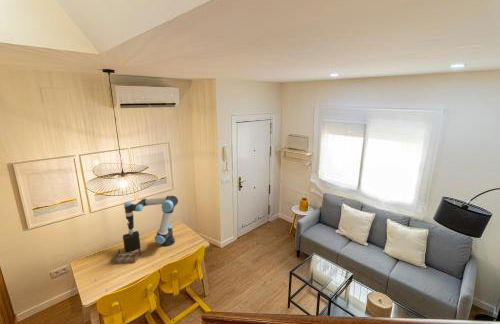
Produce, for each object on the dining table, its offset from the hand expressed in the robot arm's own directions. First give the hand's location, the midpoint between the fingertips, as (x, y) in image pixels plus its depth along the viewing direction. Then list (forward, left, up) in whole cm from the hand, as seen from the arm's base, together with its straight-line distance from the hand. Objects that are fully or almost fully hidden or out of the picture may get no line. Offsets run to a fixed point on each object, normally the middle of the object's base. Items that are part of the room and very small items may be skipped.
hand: (132, 233), depth 278 cm
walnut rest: (0, +20, -18) cm, 27 cm away
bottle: (0, +4, -17) cm, 18 cm away
